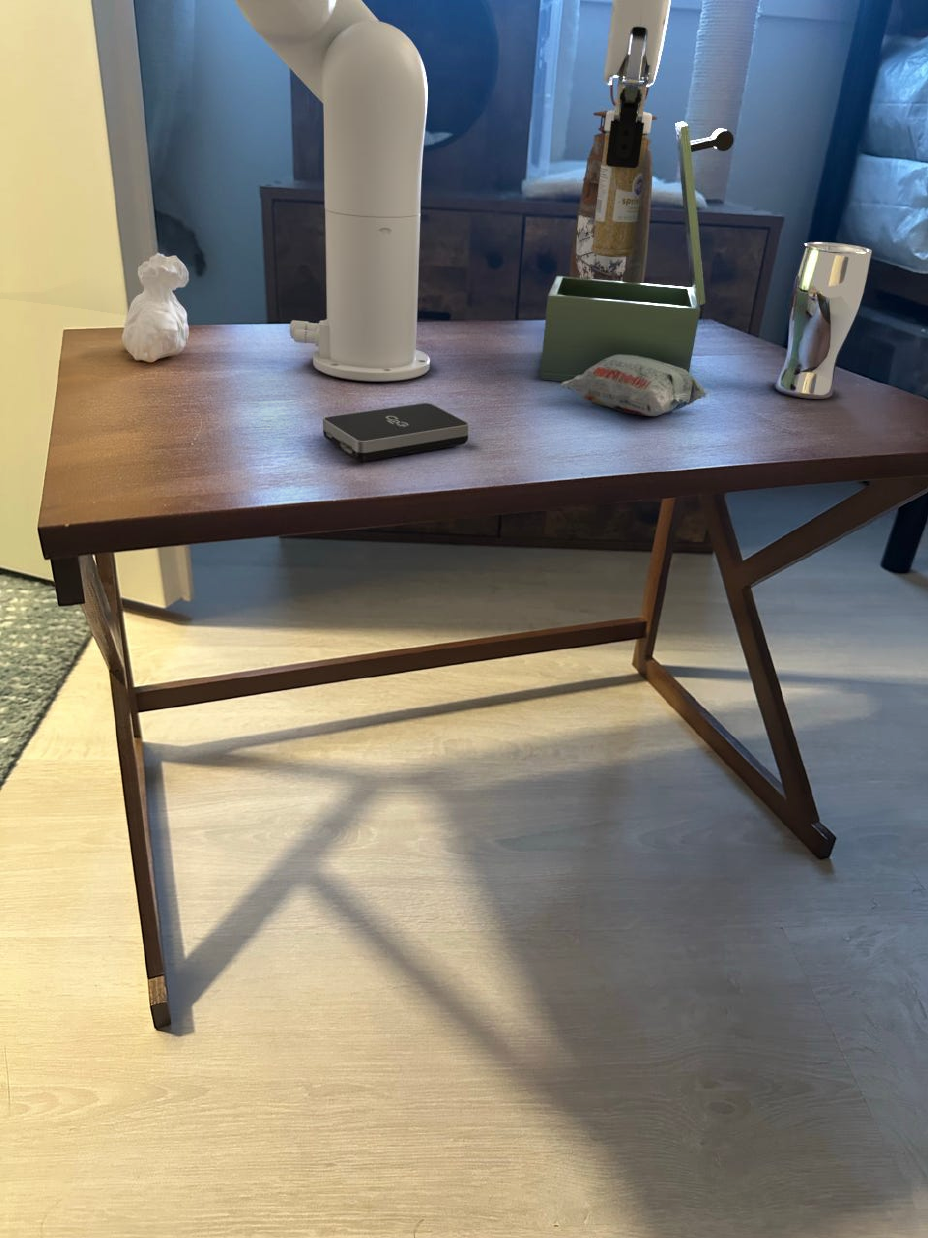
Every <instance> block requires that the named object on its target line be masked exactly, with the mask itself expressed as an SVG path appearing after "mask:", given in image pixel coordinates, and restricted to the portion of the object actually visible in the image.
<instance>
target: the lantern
mask: <svg viewBox="0 0 928 1238" xmlns="http://www.w3.org/2000/svg"><path fill="white" fill-rule="evenodd" d="M614 78H615V77H612V83H611V85H609V95H610V96H609V97H610V101H611V103H612V105H613V106H614V107H615V105H616V100H615V98H614ZM649 90H650V86H649V87H647V91H646V94H645V101H646V100H647V97H648V94H649ZM608 111H609V110H603V111H595V112H593V116H595V117H601V118H600V119H601V120H600V126H599V127H598V128H597V129H598V131H600V132H601V133H597V134H594V135H593V142H592V147H591V150H590V152H589V155H588V157H587V159H586V166H585V173H584V177H583V180H582V181H583V182H582V189H581V194H580V198H579V203H578V204H579V205H578V211H577V217H576V221H575V228H574V233H573V240H572V246H571V254H570V263H569V277H576V278H587V279H598V280H609V281H620V282H632V283H643V284H645V283H644V282H645V275H646V269H647V257H648V247H649V235H650V219H651V205H652V194H653V193H652V190H653V157H652V153H651V143H652V139H651V138H649V137H648V139H647V145H646V152H645V159H644V166H643V174H642V176H643V177H642V186H641V193H640V201H639V208H638V216H637V221H636V225H635V233H634V239H633V246H632V247H633V254H632V255H630V256H626V257H607V256H601V255H597V254H595V253H593V252H592V251H591V247H592V245H593V239H594V231H595V221H596V220H595V214H596V206H597V197H598V189H599V181H600V172H601V165H602V160H603V152H604V144H605V134H606V131H605V130H604V128H605V120H606V114H607V112H608ZM657 120H658V117H657V116H654V115H652V121H657ZM618 263H620V264H619V265H618ZM611 264H616V266H615V267H616V269H613V267H610V266H611ZM595 266H596V267H598V268H599V269H598V268H596V267H595ZM601 267H603V268H601ZM593 270H594V271H597V272H594V271H593ZM616 278H617V279H616Z"/></svg>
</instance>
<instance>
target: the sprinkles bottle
mask: <svg viewBox="0 0 928 1238" xmlns="http://www.w3.org/2000/svg"><path fill="white" fill-rule="evenodd" d="M607 111H608V112H607V114H606V120H605V128H604V130H605V131H606V134H605V144H604V152H603V160H602V165H601V172H600V181H599V189H598V197H597V206H596V214H595V220H596V221H595V226H594V231H593V237H594V239H593V245H592V247H591V251H592V252H593V253H595V255H596V254H597V255H601V256H607V257H626V256H630V255H632V254H633V247H632V246H633V239H634V233H635V225H636V221H637V216H638V208H639V201H640V193H641V186H642V177H643V176H642V174H643V166H644V159H645V152H646V145H647V139H648V138H649V136H648V135H649V134H650V133H651V128H652V121H653V120H652V116H653V115H652V113H651V112H646V111H643V117H642V123H644V128H643V135H642V142H641V150H640V157H639V164H638V166H637V167H636V168H624V167H611V166H608V165H607V164H606V158H607V150H608V142H609V134H610V125H611V120H613V121H614V112H615V109H610V110H607ZM637 114H638V111H637ZM619 119H620V116H619ZM636 122H637V118H636Z"/></svg>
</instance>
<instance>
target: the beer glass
mask: <svg viewBox="0 0 928 1238" xmlns="http://www.w3.org/2000/svg"><path fill="white" fill-rule="evenodd" d="M872 252H873V250H872V249H871V248H868V247H864V246H860V245H856V244H855V245H854V244H848V243H847V244H846V243H838V242H827V241H826V242H825V241H811V242H806V243H804V248H803V252H802V255H801V258H800V262H799V264H798V269H797V271H796V275H795V279H794V283H793V287H792V293H791V297H790V298H791V299H790V306H789V321H788V337H787V339H788V340H787V348H786V349H787V350H786V355H785V360H784V364H783V366H782V369H781V371H780V374H779V376H778V378H777V381H776V383H775V389H776V390H777V391H778V392H779V393H781V394H783V395H787V396H790V397H795V398H800V399H806V400H807V399H808V400H825V399H829V398H830V397H832V396H833V393H834V382H835V372H836V366H837V362H838V359H839V356H840V353H841V351H842V348H843V346H844V345H845V341H846V339H847V337H848V335H849V332H850V330H851V329H852V326H853V323H854V321H855V319H856V317H857V313H858V312H859V309H860V305H861V302H862V300H863V295H864V293H865V287H866V284H867V279H868V274H869V268H870V261H871V257H872Z"/></svg>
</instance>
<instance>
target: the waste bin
mask: <svg viewBox="0 0 928 1238" xmlns="http://www.w3.org/2000/svg"><path fill="white" fill-rule="evenodd" d="M545 312H546V313H545V323H544V332H543V341H542V342H543V343H542V352H541V361H540V373H539V380H541V381H551V382H552V381H553V382H562V383H563V382H565V381H569V380H573V379H574V378H575V377H577V376H578V375H582V374H584V372H585V371H586V370H588V369H589V368H590V367H592V366H594V365H596V364H597V363H599V362H601V361H602V360H604V359H606V358H609V357H611V356H614V355H617V354H623V355H634V356H640V357H645V358H650V359H654V360H657V361H660V362H664V363H667V364H670V365H673V366H676V367H679V368H682V369H685V370H686V371H687V372H688V373H689V374H690V369H691V364H692V363H691V362H692V358H693V353H694V348H695V342H696V335H697V331H698V324H699V321H700V313H701V308H700V305H697V302H696V299H695V296H694V292H693V289H692V287H686V286H675V285H665V284H664V285H663V284H653V283H632V282H620V281H609V280H598V279H587V278H576V277H570V276H565V275H564V276H563V275H556V276H555V278H554V281H553V283H552V286H551V288H550V290H549V292H548V295H547V302H546V311H545Z"/></svg>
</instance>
